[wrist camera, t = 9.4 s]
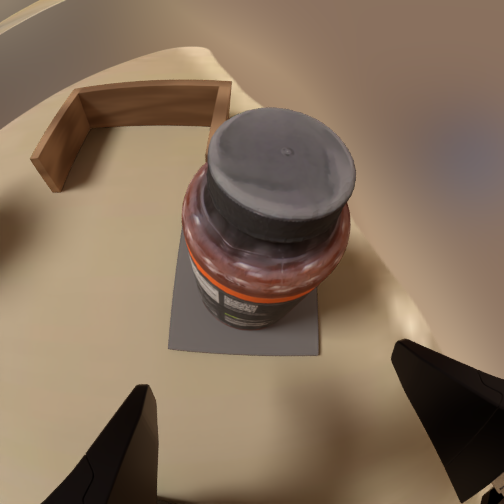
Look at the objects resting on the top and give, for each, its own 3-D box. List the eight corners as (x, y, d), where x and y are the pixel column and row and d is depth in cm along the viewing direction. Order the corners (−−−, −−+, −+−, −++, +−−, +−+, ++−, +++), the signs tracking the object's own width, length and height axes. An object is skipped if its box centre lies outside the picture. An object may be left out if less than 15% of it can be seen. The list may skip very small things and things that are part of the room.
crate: (219, 197, 23) (220, 155, 18) (52, 192, 21) (29, 158, 16) (228, 121, 26) (231, 81, 22) (86, 122, 25) (74, 89, 20)
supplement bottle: (279, 232, 21) (339, 89, 10) (306, 318, 19) (426, 235, 7) (189, 248, 20) (164, 96, 8) (208, 342, 18) (188, 287, 6)
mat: (316, 355, 18) (318, 355, 18) (169, 349, 17) (167, 348, 17) (311, 226, 22) (312, 224, 22) (184, 216, 21) (184, 213, 21)
